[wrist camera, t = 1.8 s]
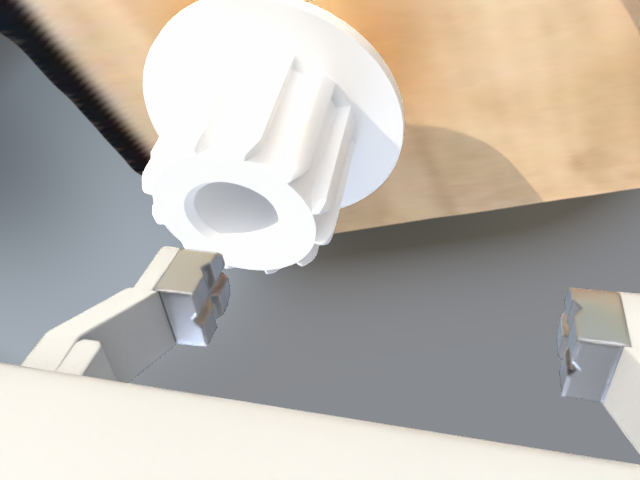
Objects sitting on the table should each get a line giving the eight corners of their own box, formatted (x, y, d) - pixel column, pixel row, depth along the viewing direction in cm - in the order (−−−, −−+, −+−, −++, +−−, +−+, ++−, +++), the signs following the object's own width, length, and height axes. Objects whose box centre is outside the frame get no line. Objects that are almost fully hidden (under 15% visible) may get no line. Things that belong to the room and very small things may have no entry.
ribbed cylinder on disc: (168, 134, 70) (99, 260, 58) (169, -80, 50) (65, 46, 38) (371, 195, 71) (343, 331, 59) (450, 9, 51) (432, 157, 39)
